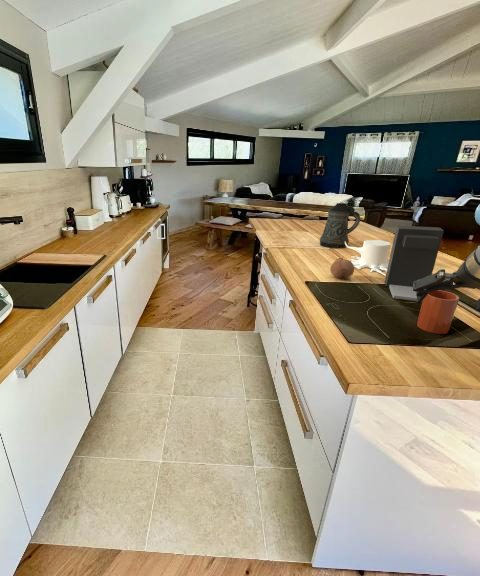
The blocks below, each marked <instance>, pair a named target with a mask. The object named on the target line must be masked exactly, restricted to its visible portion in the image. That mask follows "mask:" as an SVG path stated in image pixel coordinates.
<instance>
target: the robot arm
mask: <svg viewBox="0 0 480 576" xmlns="http://www.w3.org/2000/svg"><path fill="white" fill-rule="evenodd" d="M474 219H475V222H476V224H477V225H479V226H480V203H479V204H478V206H477V207H476V209H475V212H474ZM462 288H463V289H471V290H476V289H477V290H478V291H480V244H479V245H478V246H477V247H476V248H475V249H474V250H473V251H472V252H471V253H470V254H469V256H467V258H466V259H465V260H464V261H463V262H462V263H461V264H460V265H459V267H458V268H457V270H456V271H453V272H446V270H445V269H444V268H443V269H438V270H437V271H436V272H434V273H432V275H430V276H427V277H425V278H422V279H420V280H417V281H415V282H413V291H415V292H416V296H417V301H416V304H422V300H423V299H424V298H425V297H426V296H427V295H428V292H432V291H437V290H442V291H443V290H447V289H450V290H456V289H462ZM475 306H476V307H475V309H476V312H477V311H479V312H480V298H478V299H477V300H476V301H475Z"/></svg>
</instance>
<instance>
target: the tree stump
mask: <svg viewBox="0 0 480 576" xmlns="http://www.w3.org/2000/svg"><path fill="white" fill-rule="evenodd" d="M345 245H346V247H345V248H347V249H349V250H353V251H354V252H357V253H358V254H360V256H354V255H351V256H350V257H351V258H350V259H348V260H349V261H351V262H352V264H353V266H354V269H357V270H361V269H365V268H369V269H370V270H369V272H370V273H373V272H377V273H378V274H380V275H383V276H385V277H386V273H387V268H388V264H389V260H388V259H389V256H390V255H389V254H390V251H391V250H390V249H391V246H392V243H391V242H389V241H386V240H382V239H380V240H379V239H366V240H364V241H363V245H362V246H361V247H356V246H349V244H348V245H347V243H346V241H345ZM384 272H385V273H384Z"/></svg>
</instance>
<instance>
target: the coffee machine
mask: <svg viewBox="0 0 480 576" xmlns="http://www.w3.org/2000/svg"><path fill="white" fill-rule="evenodd" d="M444 232H445V230H444V229H443V228H441V227H438V226H436V227H435V226H415V225H414V226H413V225H396V227H395V232H394V237H393V240H392V244H391V250H390V253H389V254H390V255H389V258H388V259H389V260H388V261H389V262H388V263H389V264H388V268H387V272H385V274H386V276H385V277H384V278H385V279H384V284H385V285H384V286H385V287H386V288H388V289H389V291H390V294H391V296H392V299H396V300H405V301H412V302H417V296H416V292H415V291H413V282H415V281H417V280H420V279H422V278H425V277H427V276H430V275H432V274H433V272H434V270H435V269H434V268H435V264H436V262H437V257H438V254H439V250H440V247H441V243H442V239H443V237H444V236H443V235H444ZM422 302H423V300H422ZM422 302H421V303H422Z"/></svg>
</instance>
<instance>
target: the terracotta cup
mask: <svg viewBox="0 0 480 576" xmlns="http://www.w3.org/2000/svg"><path fill="white" fill-rule="evenodd" d="M459 301H460V297H459V295H457V294H455V293H453V292H450V291H448V290H447V291H446V290H443V289H442V290H437V291H432V292H428V295H427V296H426V297H425V298H424V299H423V302H421V306H420V310H419V313H418V317H417V321H416V326H417V327H418V328H419V329H420V330H423V331H425V332H427V333H431V334H436V335H445V334H448V333H449V331H450V329H451V327H452V322H453V320H454V317H455V314H456V310H457V307H458V304H459Z"/></svg>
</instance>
